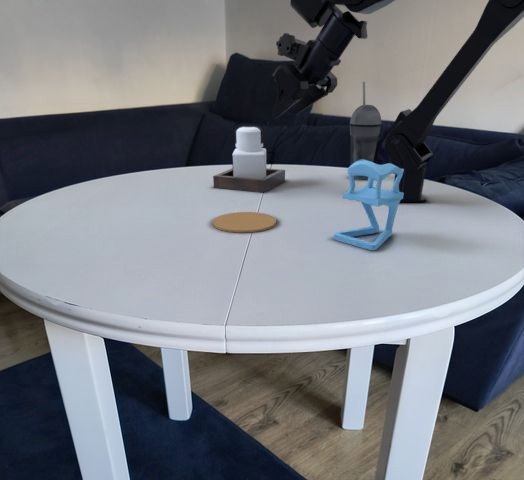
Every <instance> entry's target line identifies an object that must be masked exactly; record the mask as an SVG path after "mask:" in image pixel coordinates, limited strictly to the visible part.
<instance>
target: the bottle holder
mask: <svg viewBox="0 0 524 480" xmlns="http://www.w3.org/2000/svg"><path fill="white" fill-rule="evenodd" d="M212 179H213V182H212V183H213V188H214V189H224V190H234V191H235V190H236V191H242V192H243V191H245V192H255V193H265V192H268V191H269V190H272V189H273V188H275V187H277V186H279V185H280V184H282V183H284V182H285V181H286V169H279V168H267V167H266V177H264V178H262V179H255V178H244V177H233V167H232V168H230V169H227V170H224V171H222V172H220V173H218V174H217V173H216V174H214V175H213V176H212Z"/></svg>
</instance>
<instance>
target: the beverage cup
mask: <svg viewBox="0 0 524 480" xmlns="http://www.w3.org/2000/svg"><path fill="white" fill-rule="evenodd" d="M349 121H350V122H349V123H348V126H349V135H350V166H351V165H352V164H353V163H355V162H357V161H359V160H361V159H365V160H367V161H371V162H373V163H374V161H375V155H376V149H377V144H378V140H379V139H378V138H379V135H380V132H381V127H382V125H383V124H382V116H381V113H380V110H379V109H378V108H377V107H376V106H375V105H373V104H366V81H362V104H361V105H359V106H358V107H357V108H355V110H353V112H352V114H351V117H350V120H349ZM353 178H354V180H356V181H357V180H358V181H366V180H367V181H368V178H369V177H367V176H353Z"/></svg>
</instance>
